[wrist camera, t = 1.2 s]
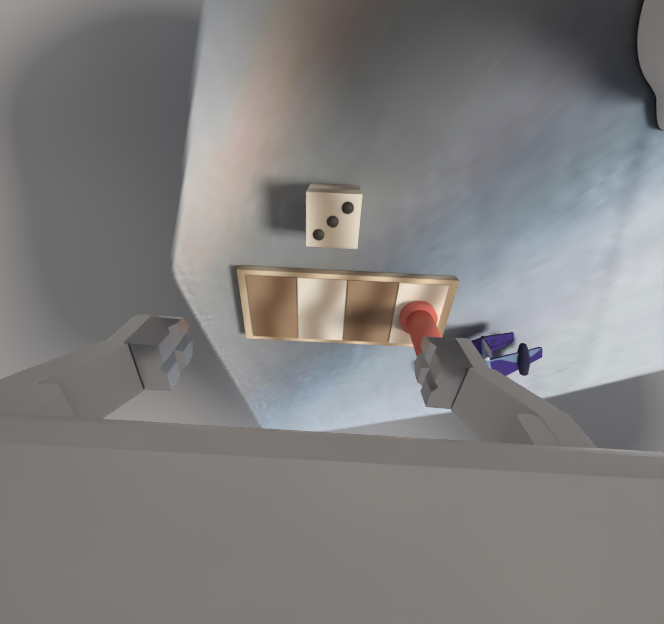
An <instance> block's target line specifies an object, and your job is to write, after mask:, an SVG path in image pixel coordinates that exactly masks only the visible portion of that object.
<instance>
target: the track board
mask: <svg viewBox="0 0 664 624" xmlns="http://www.w3.org/2000/svg"><path fill="white" fill-rule="evenodd" d="M237 276H238V283H239V290H240V297H241V305H242V312H243V319H244V326H245V333H246V338H251V339H271V340H290V341H310V342H330V343H350V344H369V345H389V346H409V347H414V346H413V343H412V340H411V338H410V335H409V334H407V333H406V332H405V331H404V330H403V329H402V327H401V323H400V320H399V315H400V312H401V310H402V309H403V308H404V307H405V306H406V305H407V304H409V303H411V302H414V301H425V302H428V303H429V304H431V305H432V306H433V308H434V310H435V312H436V314H437V316H438V321H437V324H436V325H437V327H438V329H439V331H440V333H441V335H442V337H443V333H444V330H445V327H446V323H447V320H448V317H449V313H450V310H451V307H452V303H453V300H454V297H455V294H456V290H457V287H458V284H459V280H458V278H457V277H456V276H437V275H418V274H398V273H378V272H359V271H339V270H319V269H300V268H280V267H260V266H241V265H240V266H239V267H238V268H237Z"/></svg>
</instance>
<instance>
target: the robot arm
mask: <svg viewBox="0 0 664 624" xmlns="http://www.w3.org/2000/svg"><path fill="white" fill-rule="evenodd" d="M637 45H638V57H639V63H640V66H641V69H642V72H643V75H644V76H645V78H646V80H647V82H648V83H649V85H650V86H651V88H652V89H653V91H654V93H655V95H656V98H657V102H656V108H657V122H658V125H659V127H660V128H661V129H662V130H664V0H644V3H643V7H642V11H641V16H640V21H639V28H638V39H637ZM188 330H189V326H188V322H187V320H186V319H185V318H178V317H167V316H156V315H155V316H153V315H144V314H139V315H135V316H134V317H132V318H131V319H130V320H129V321H128V322H127V323H126V324H125V325H123V326H122V327H121V328H120V329H119V330H118V331H117V332H116V333H115V334H113V335H112V336H111V337H110V338H109V339H108V340H107V341H105V342H98V343H95V344H92V345H90V346H87V347H85V348H82V349H80V350H76V351H74V352H71V353H68V354H66V355H63V356H61V357H58V358H55V359H53V360H50V361H47V362H45V363H42V364H40V365H37V366H34V367H31V368H29V369H26V370H23V371H21V372H18V373H15V374H13V375H10V376H7V377H5V378H2V379H0V624H664V452H648V451H632V450H615V449H598V448H596V446H595V445H594V444H593V443H592V442H591V441H590V439H589V438H588V437H587V436H586V435H585V433H584V432H583V431H582V430H581V429H580V427H579V426H578V425H577V424H576V423H575V422H574V420H573V419H572V418H571V417H570V416H569V415H567V414H566V413H564V412H563V411H561V410H559V409H558V408H556V407H555V406H553V405H551V404H550V403H548V402H546V401H545V400H543V399H542V398H540V397H538V396H537V395H535V394H534V393H532V392H530V391H529V390H527V389H525V388H524V387H522V386H521V385H519V384H517V383H516V382H514V381H513V380H511V379H509V378H508V377H506V376H504V375H503V374H501V373H500V372H498V371H496V370H495V369H490V368H489V367H488V365H487V364H486V362H485V361H484V359H483V358H482V356H481V355H480V353H479V352H478V350H477V349H476V348H475V346H474V345H473V343H472V342H471V340H469V339H468V338H446V337H429V336H424V338H423V339H422V342H421V345H420V346H421V349H422V352H421V353H420V354H419V355H417V358H416V362H415V376H416V379H417V382H418V383H419V384H421V385H422V389H421V394H422V397H423V400H424V403H425V405H426V407H434V408H445V409H451V411H452V412H453V413H454V414H455V415H456V416H457V417H458V418H459V419H460V420H461V421H462V422H463V423H464V424H465V425H466V426H467V427H468V428H469V429H470V430H471V431H472V432H473V433H474V434H475V435H476V436H477V437H478V438H479V439H480V440H481V441H482V442H481V441H464V440H445V439H428V438H412V437H411V438H410V437H396V436H379V435H361V434H346V433H331V432H314V431H297V430H280V429H263V428H245V427H228V426H212V425H195V424H177V423H161V422H144V421H126V420H109V419H103V418H104V417H106V416H107V415H109V414H110V413H112V412H113V411H114V410H116V409H118V408H119V407H120V406H122V405H123V404H125V403H126V402H128V401H129V400H131V399H132V398H134V397H135V396H137V395H138V394H140V393H141V392H142V391H144V390H143V389H148V390H172V388H173V387H174V385H175V383H176V382H177V381H178V379H179V377H180V376H181V375H180V371H179V370H181V369H183V368H184V367H186V366H187V365H188V363H189V361H190V360H191V356H192V352H193V345H192V340H191V339H190V338H189V337H188V336H187V335H186V333H187V331H188Z"/></svg>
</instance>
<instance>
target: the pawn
mask: <svg viewBox="0 0 664 624" xmlns="http://www.w3.org/2000/svg"><path fill="white" fill-rule="evenodd" d="M399 320H400V323H401V327H402V329H403V330H404V331H405V332H406V333H407V334H409V335H410V338H411V340H412V343H413V346H414V349H415V352H416V355H419V354H420V353H421V352H422V349H421V346H420V345H421V342H422V339H423V338H424V336H429V337H442V335H441V333H440V331H439V329H438V327H437V325H436V324H437V321H438V316H437V314H436V312H435V310H434V308H433V306H432V305H431V304H429V303H428V302H425V301H414V302H411V303H409V304H407V305H406V306H405V307H404V308H403V309H402V310H401V312H400V315H399Z"/></svg>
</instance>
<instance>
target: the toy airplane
mask: <svg viewBox="0 0 664 624" xmlns="http://www.w3.org/2000/svg"><path fill="white" fill-rule="evenodd" d="M471 342H472V343H473V345H474V346H475V348H476V349H477V350H478V352H479V353H480V355H481V356H482V358H483V359H484V361H485V362H486V364H487V365H488V367H489V368H490V369H495V370H496V371H498V372H500V373H501V374H503V375H504V376H507V375H509V374H511V373H512V372H514V371H516V370H518V369H519V373H520V374H521V375H528V371H529V366H530V363H532V362H534V361H536V360H538V359H540V358H542V348H541V347H537V348H533V349H529V350H528V348H527V345H526V344H525V343H521V344H520V345H519V348H518V351H517V353H513V354H508V355H504V356H500V357H496V358H492V359H490V358H489V357H493V351H495V350H497V349H499V348H501V347H503V346H505V345H507V344H509V343H512V342H514V333H513V332H511V333H504V334H497V335H490V336H481V338H478V339H475V340H473V341H471Z"/></svg>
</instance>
